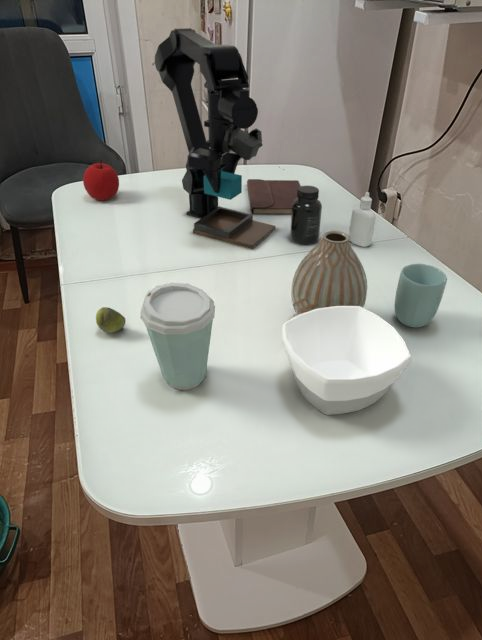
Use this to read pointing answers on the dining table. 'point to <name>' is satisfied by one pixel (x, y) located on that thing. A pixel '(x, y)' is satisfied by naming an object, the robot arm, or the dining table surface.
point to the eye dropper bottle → (362, 223)
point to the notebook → (272, 195)
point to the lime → (109, 320)
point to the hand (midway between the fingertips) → (222, 188)
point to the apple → (101, 181)
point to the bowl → (343, 357)
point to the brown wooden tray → (233, 227)
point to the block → (225, 186)
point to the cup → (419, 294)
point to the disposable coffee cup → (179, 331)
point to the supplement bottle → (306, 216)
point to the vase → (329, 276)
